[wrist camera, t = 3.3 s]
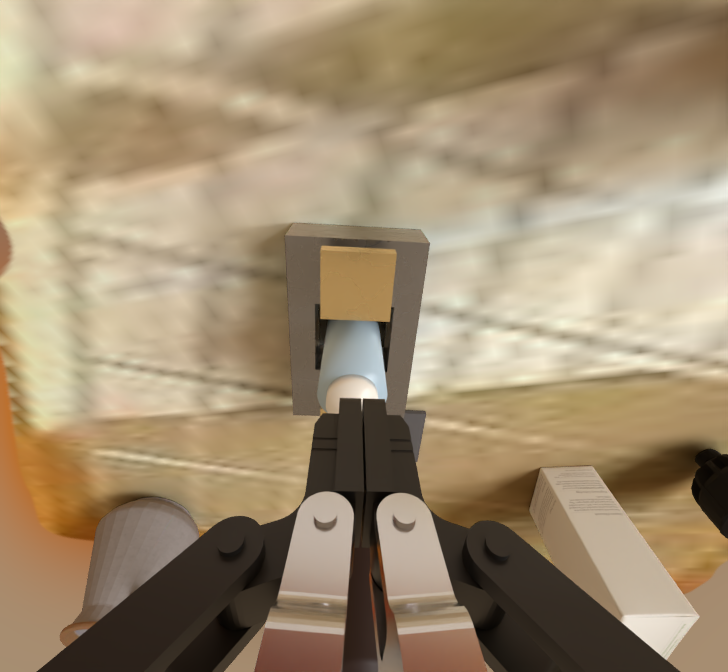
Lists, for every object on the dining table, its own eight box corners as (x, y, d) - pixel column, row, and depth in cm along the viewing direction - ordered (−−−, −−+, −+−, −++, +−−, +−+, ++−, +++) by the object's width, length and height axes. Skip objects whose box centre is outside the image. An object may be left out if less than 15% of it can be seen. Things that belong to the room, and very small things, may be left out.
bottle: (321, 528, 47) (302, 760, 30) (354, 501, 44) (354, 737, 27) (361, 546, 49) (365, 773, 32) (395, 522, 47) (419, 753, 29)
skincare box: (575, 508, 46) (667, 664, 33) (524, 510, 46) (594, 667, 33) (593, 462, 42) (707, 618, 28) (537, 464, 42) (624, 622, 28)
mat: (329, 408, 37) (329, 411, 37) (425, 411, 38) (426, 414, 37) (328, 456, 41) (328, 459, 40) (416, 458, 41) (417, 461, 41)
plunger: (326, 231, 25) (320, 250, 21) (389, 234, 25) (396, 253, 21) (325, 290, 27) (320, 318, 23) (384, 293, 28) (389, 321, 23)
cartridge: (328, 293, 31) (315, 374, 21) (379, 295, 31) (392, 376, 21) (328, 337, 33) (315, 431, 23) (375, 339, 33) (385, 433, 23)
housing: (293, 222, 28) (284, 235, 25) (420, 229, 29) (429, 243, 25) (299, 387, 36) (293, 415, 32) (399, 390, 36) (403, 418, 33)
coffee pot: (164, 553, 49) (95, 706, 36) (91, 509, 44) (-20, 667, 31) (286, 493, 44) (257, 647, 30) (217, 436, 39) (147, 590, 26)
